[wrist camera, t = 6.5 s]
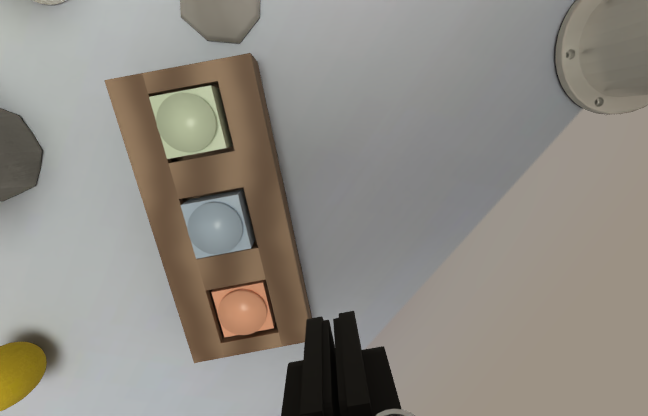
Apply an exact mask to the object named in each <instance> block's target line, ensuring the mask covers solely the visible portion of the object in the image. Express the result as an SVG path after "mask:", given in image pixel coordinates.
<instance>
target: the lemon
mask: <svg viewBox="0 0 648 416" xmlns="http://www.w3.org/2000/svg"><path fill="white" fill-rule="evenodd" d="M46 364H47V361H46V356H45V354H44V352H43V350H42V349H41V348H40V347H38V346H37V345H35V344H32V343H29V342H13V343H8V344H5V345H3V346H0V411H3V410H5V409H7V408H9V407H10V406H12V405H14V404H16V403H17V402H19V401H20V400H22V399H23V398H24V397H26V396H27V395H28V394H29V393H30V392H31V391H32V390H33V389H34V388H35V387H36V386H37V385H38V383H39V382H40V380H41V379H42V377H43V375H44V373H45V370H46Z"/></svg>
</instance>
